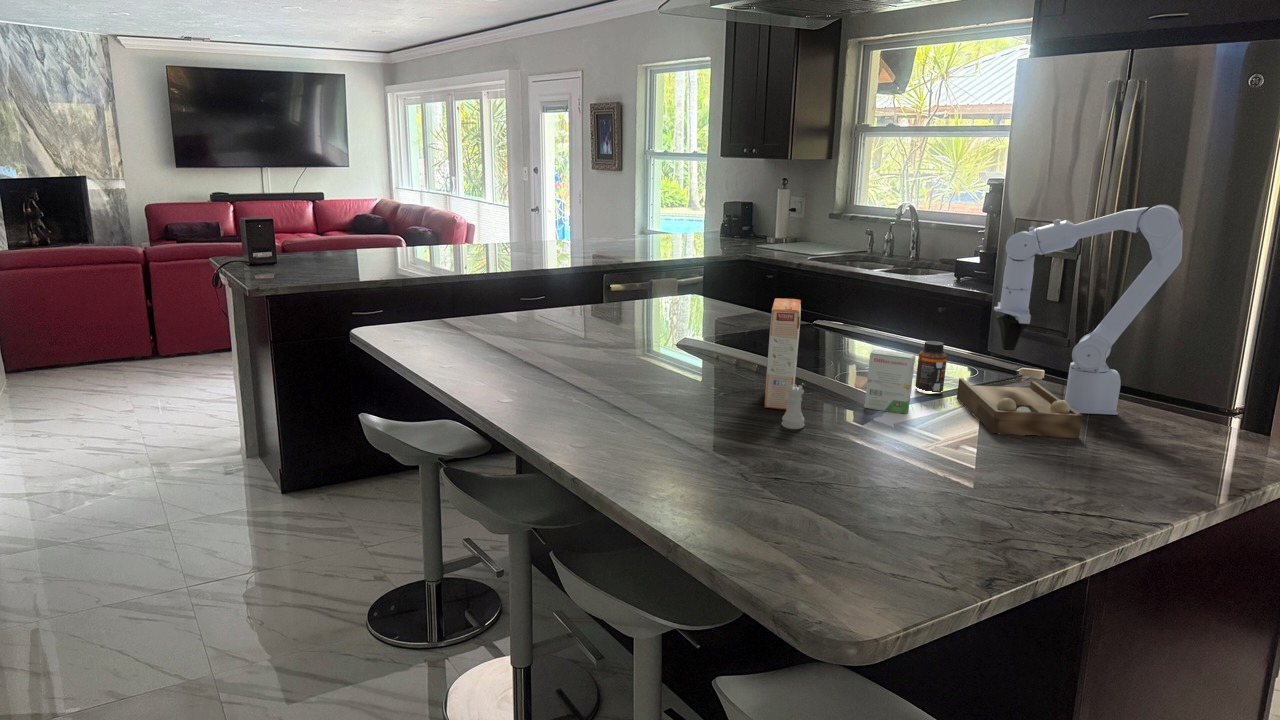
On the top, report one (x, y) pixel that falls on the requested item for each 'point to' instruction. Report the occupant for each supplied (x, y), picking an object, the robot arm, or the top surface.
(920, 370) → the supplement bottle
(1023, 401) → the board
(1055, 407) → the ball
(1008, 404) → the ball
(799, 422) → the rook chess piece
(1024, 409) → the steel ball
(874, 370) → the ink box
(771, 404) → the cracker box
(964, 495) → the top surface
